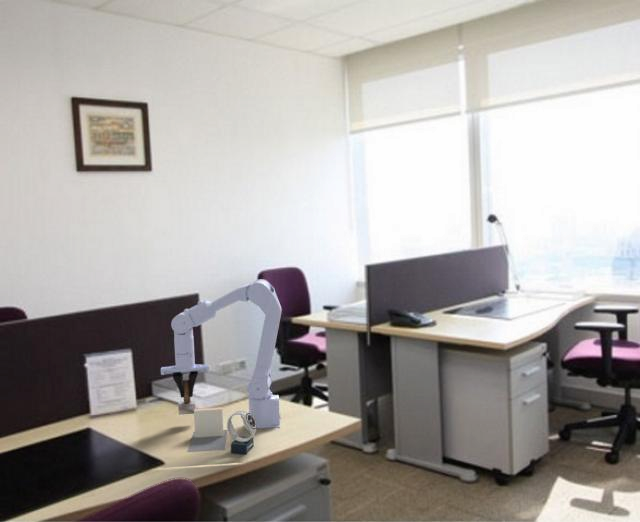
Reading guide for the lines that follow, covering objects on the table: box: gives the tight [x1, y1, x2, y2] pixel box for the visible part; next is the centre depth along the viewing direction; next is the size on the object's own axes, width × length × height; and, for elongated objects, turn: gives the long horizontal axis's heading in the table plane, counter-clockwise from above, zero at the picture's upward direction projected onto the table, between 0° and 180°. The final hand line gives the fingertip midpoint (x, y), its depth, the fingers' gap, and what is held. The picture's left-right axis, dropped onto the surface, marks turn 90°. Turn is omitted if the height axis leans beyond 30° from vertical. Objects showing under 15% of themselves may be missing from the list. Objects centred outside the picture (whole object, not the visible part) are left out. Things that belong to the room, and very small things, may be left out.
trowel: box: [177, 378, 197, 415], centre depth 186 cm, size 5×3×10 cm, turn 96°
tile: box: [193, 406, 224, 438], centre depth 177 cm, size 8×2×8 cm, turn 95°
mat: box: [187, 429, 229, 453], centre depth 174 cm, size 10×15×1 cm, turn 5°
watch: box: [226, 410, 258, 455], centre depth 166 cm, size 6×8×11 cm
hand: (186, 396), depth 186 cm, fingers closed on trowel, 2 cm apart
